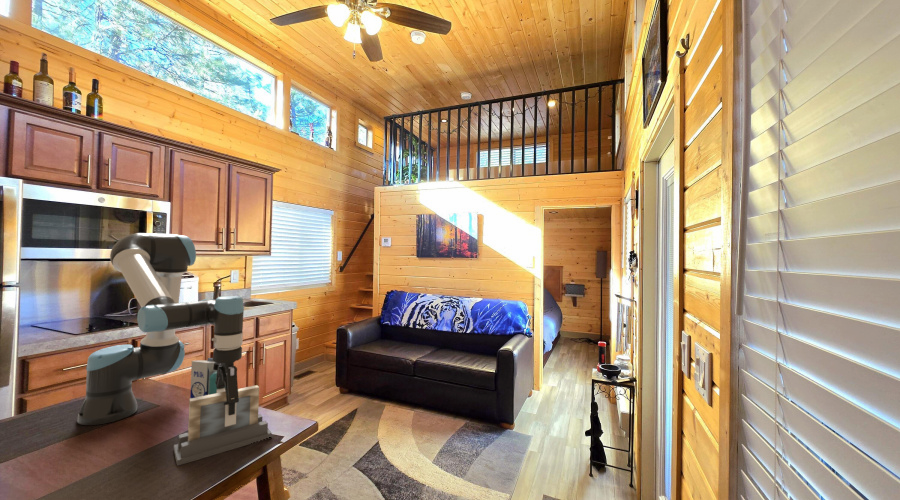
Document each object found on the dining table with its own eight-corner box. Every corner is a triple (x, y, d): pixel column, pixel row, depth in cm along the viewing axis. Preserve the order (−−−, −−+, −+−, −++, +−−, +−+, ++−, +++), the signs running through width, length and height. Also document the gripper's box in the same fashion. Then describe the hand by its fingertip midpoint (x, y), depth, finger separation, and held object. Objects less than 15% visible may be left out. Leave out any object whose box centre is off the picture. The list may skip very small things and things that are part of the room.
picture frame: (255, 428, 117) (257, 385, 117) (257, 431, 115) (259, 387, 115) (187, 446, 105) (189, 398, 105) (188, 450, 103) (190, 401, 103)
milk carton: (189, 417, 126) (191, 360, 126) (206, 409, 132) (208, 355, 133) (205, 420, 124) (207, 362, 124) (222, 411, 131) (224, 357, 131)
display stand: (262, 425, 122) (263, 412, 122) (271, 437, 114) (272, 423, 114) (173, 450, 105) (174, 434, 106) (177, 465, 98) (177, 449, 98)
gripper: (206, 340, 117) (204, 406, 117) (221, 359, 98) (219, 436, 98) (232, 337, 122) (230, 400, 122) (252, 354, 103) (249, 428, 103)
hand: (225, 416), depth 110 cm, fingers open, 13 cm apart
